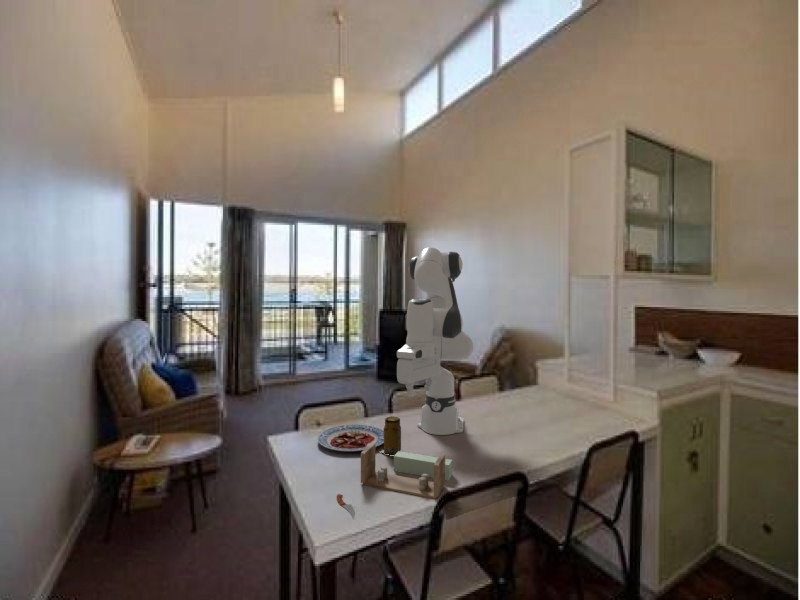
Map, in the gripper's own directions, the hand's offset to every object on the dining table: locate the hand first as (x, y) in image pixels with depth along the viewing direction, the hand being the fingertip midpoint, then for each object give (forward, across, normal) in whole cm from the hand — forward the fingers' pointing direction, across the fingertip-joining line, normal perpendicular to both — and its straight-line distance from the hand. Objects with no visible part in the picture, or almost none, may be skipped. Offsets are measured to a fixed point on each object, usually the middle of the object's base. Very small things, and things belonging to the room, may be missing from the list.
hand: (420, 393), depth 136 cm
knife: (+26, +29, -5) cm, 39 cm away
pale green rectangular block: (+25, 0, +1) cm, 25 cm away
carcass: (+25, +11, +1) cm, 27 cm away
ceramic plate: (+24, -6, -34) cm, 42 cm away
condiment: (+25, -7, -15) cm, 30 cm away
